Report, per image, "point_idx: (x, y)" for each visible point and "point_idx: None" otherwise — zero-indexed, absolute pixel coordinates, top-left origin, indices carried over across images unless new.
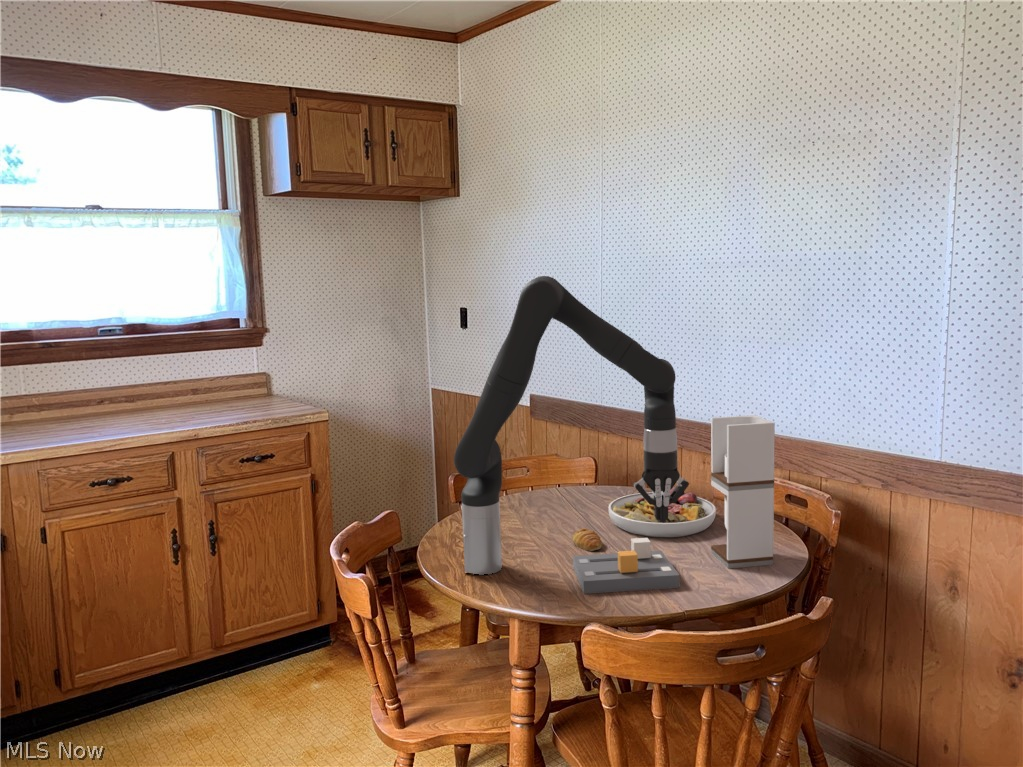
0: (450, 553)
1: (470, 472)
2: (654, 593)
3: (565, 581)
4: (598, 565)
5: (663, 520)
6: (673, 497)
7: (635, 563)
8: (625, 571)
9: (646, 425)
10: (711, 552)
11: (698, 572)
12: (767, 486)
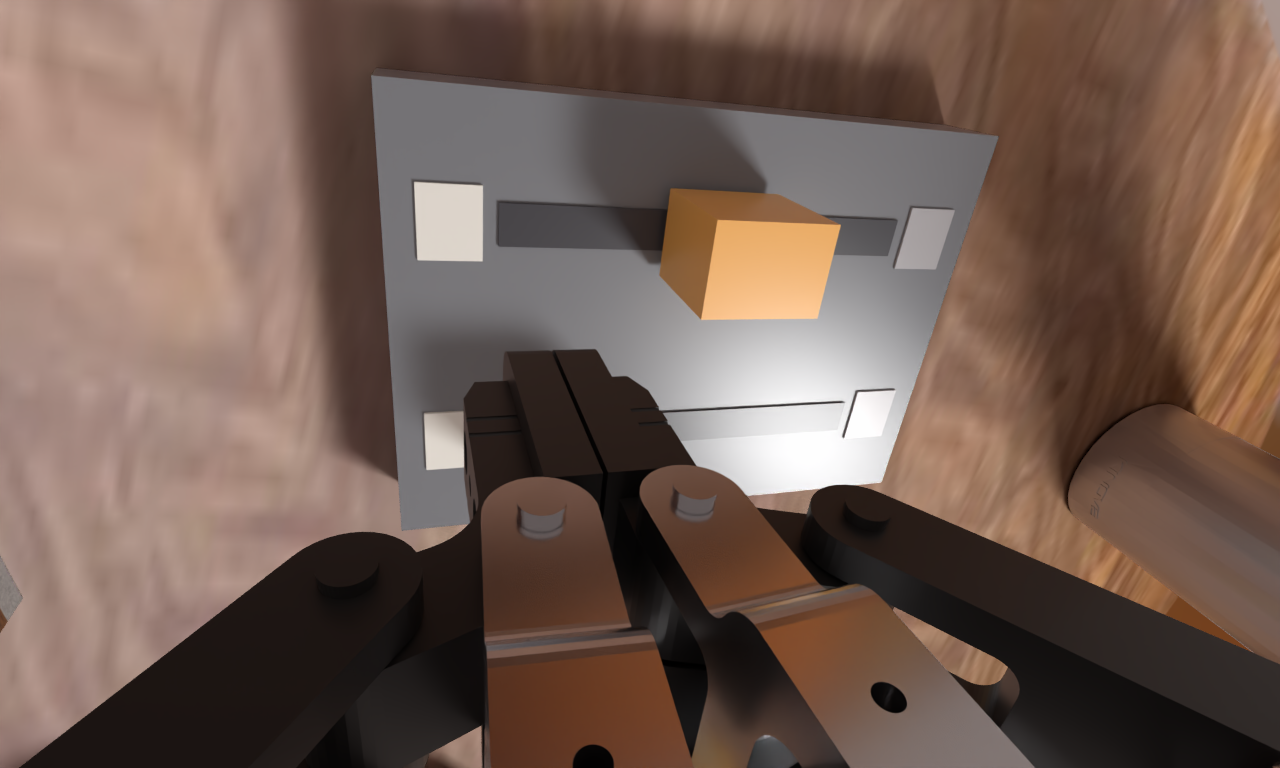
0: (1131, 587)
1: None
2: (579, 15)
3: (944, 301)
4: (828, 350)
5: (543, 352)
6: (352, 654)
7: (707, 204)
8: (751, 194)
9: None
10: (18, 600)
11: (171, 311)
12: None
